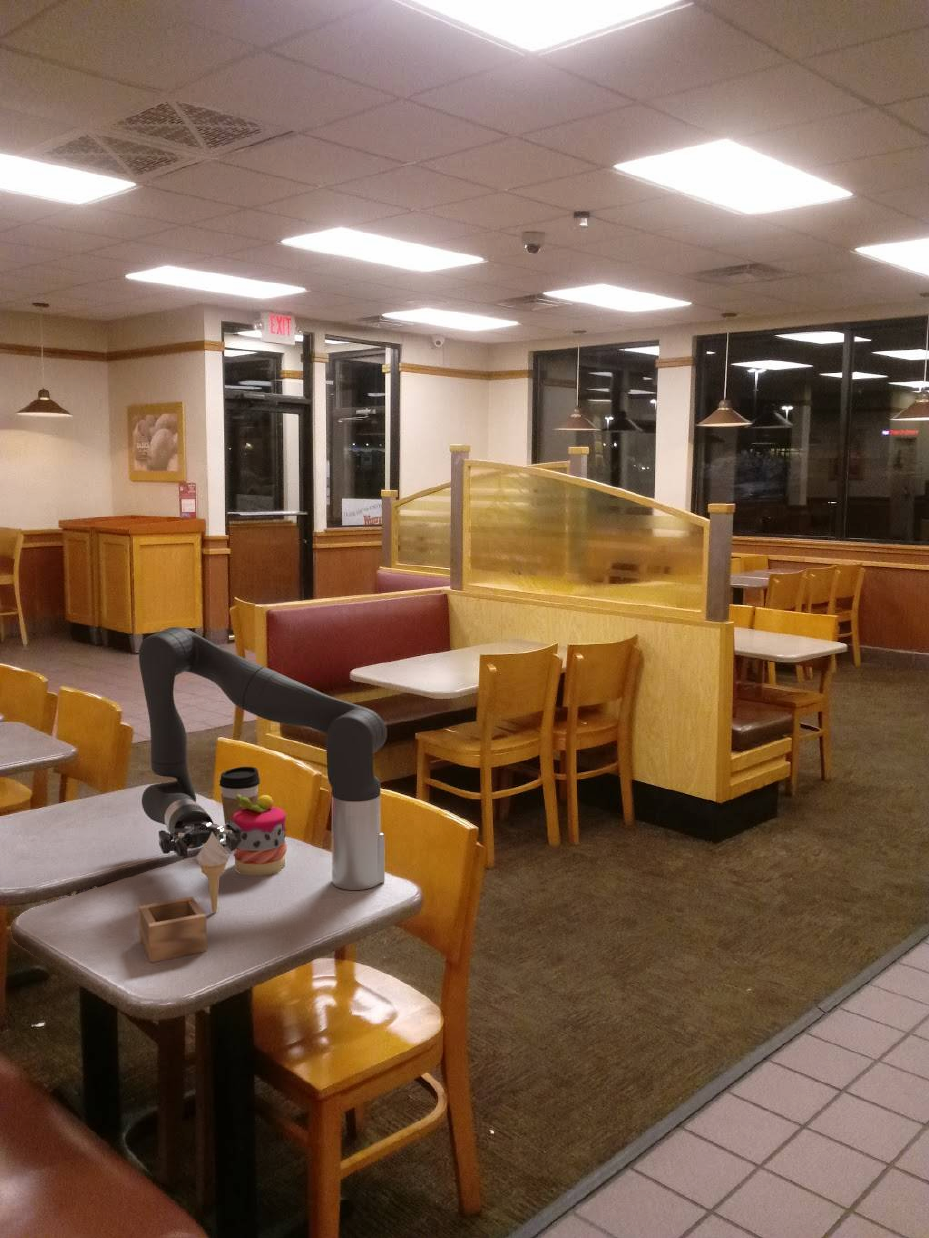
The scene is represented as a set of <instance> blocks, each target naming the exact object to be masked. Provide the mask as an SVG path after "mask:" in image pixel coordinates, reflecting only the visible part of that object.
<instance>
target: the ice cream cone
mask: <svg viewBox="0 0 929 1238" xmlns="http://www.w3.org/2000/svg"><path fill="white" fill-rule="evenodd" d="M202 846H203V847H202V848H201V850H199V852H198V854H197V855H196V860H197V864H198V865H199V867H200V869H201V873H202V874H204V875H205V877H206V878H207V883H208V889H209V890H208V891H209V897H210V904H211V910H212V913H213V914H216V913H217V910H218V898H219V888H220V887H219V886H220V876H221V875H222V874H223V873H224V872H225V870H226V865H227V863H228V862H229V857H230V855H229V854H227V853H228V851H227V850H226V848H224V846H223V844H220V842H219V841H218V840H217V838H216V837H215V835H214V833H213V832H212V833H211V835H210V837H209V839H208V841H207V842H206V843H205V845H202Z"/></svg>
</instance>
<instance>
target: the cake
mask: <svg viewBox="0 0 929 1238" xmlns="http://www.w3.org/2000/svg"><path fill="white" fill-rule="evenodd" d="M236 799H237V801H238V802H239V803H240V804H239V807H242V808H244V809H241V810H239V811H237V812H236V813H235V814H234V816H233V822H234V823H235V824H236V825H238V826H239V827H240V828H241V842H239V843H237V848H235V850H234V853H233V854H232V855H233V857H234V870H235V869H236V870H237V871H238V872H237V871H236V870H235V871H236V872H237V873H239V872H240V873H239V874H241V875H245V876H252V877H258V876H260V877H261V876H262V875H263V876H268V875H273V874H276V873H275V872H277V873H278V871H279V872H280V870H281V869H283V870H284V868H285V867H286V852H287V848H288V845H287V841H286V839H285V838H286V831H287V829H286V825H285V824H286V820H287V815H286V814H287V813H286V812H285V811H284V810H283V809H281V808H280V807H276V806H273V805H274V800H273V799H272V797H271V796H270V795H267V794H262V795H261V796H258V801H257V806H256V805H255V806H254V805H253V804H252V803H251V801H250V800H249V799H248V798H246V797H244V798H242V796H241V795H237V796H236ZM281 871H282V870H281Z"/></svg>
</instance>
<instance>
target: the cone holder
mask: <svg viewBox="0 0 929 1238" xmlns="http://www.w3.org/2000/svg"><path fill="white" fill-rule="evenodd" d="M138 929H139V930H138V931H139V942H140V945H141V946H142V948H143V950H144V952H145V954H146V955H147V958H148V959H149V961H150V963H154V962H155V963H156V962H161V961H165V960H169V959H170V960H171V959H175V958H179V956H181V957H185V956H189V955H196V954H200V953H204V952H207V951H208V949H207V948H208V947H207V946H208V945H207V943H208V942H207V916H206V914H205V913H204V911H203V909H202V908H201V907H200V906H199V903H198V902H197V901H196V900H195V898H194V897H193V896H189V897H184V898H177V899H172V900H165V901H162V902H155V903H150V904H144V905H143V904H142V905H138Z"/></svg>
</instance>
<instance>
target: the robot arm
mask: <svg viewBox="0 0 929 1238" xmlns="http://www.w3.org/2000/svg"><path fill="white" fill-rule="evenodd" d="M138 661H139V670H140V675H141V680H142V685H143V690H144V696H145V702H146V707H147V712H148V718H149V728H150V729H149V730H150V766H151V767H150V768H151V771H152V772H153V773H154V774H155V775H157V776H160V777H167V778H174V779H176V781H175V780H174V781H168V782H161V783H154V784H151V785H149V786H147V787H146V789H145V790H144V791H143V793H142V796H141V805H142V809H143V812H144V813H145V815H146V816H147V817H148V818H149V819H150V820H151V821H153V822H155V823H158V824H161V825H165V826H166V829H167V831H168V832H166V830H165V829H164V830H158V845H159V847H160V849H161V852H162V853H163V854H164V855H167V854H170V853H171V852H173V853H174V854H176V855H177V856H178V857H182V859H188V856H189V855H188V850H189V849H192V850H193V849H198V848H201V847H202V846H204V845H205V843H206V842H207V841H208V839H209V837H210V835H211V833H212V832H213V833H214V835H215V837H216V838H217V840H218V841H219V842H220V844H221V845H225V847H227V848H228V849H229V851H231V852H235V851H236V849H235V848H237V843H239V842H241V828H240V827H239V826H238V825H236V824H235V823H234V822H233V821H226V825H225V824H224V825H219V824H217V823H214V821H213V819H212V817H211V816H210V814H208V813H207V811H205V809H204V807H202V806H201V805H200V804H199V803H197V795H196V792H195V789H194V788H195V787H194V786H193V783H192V780H191V776H190V772H189V767H188V756H187V755H188V751H187V750H188V749H187V748H188V740H187V738H188V737H187V731H186V728H185V725H184V722H183V720H182V718H181V715H180V714H179V711H178V709H177V706H176V703H175V698H174V689H175V680H176V676H178V675H181V674H182V673H184V672H185V673H191V674H195V675H197V676H200V677H202V678H205V679H207V680H209V681H211V682H213V683H214V684H215V685H216V686H218V687H219V688H220V689H221V690H222V692H223V693H224V695H225V696H226V697H227V698H228V699H229V701H231V702H232V703H233V704H234V705H235V706H236V707H238V708H240V709H242V710H243V711H245V712H247V713H250V714H251V715H254V716H257V717H259V718H261V719H264V720H266V721H270V722H274V723H279V724H283V725H290V726H297V727H303V728H309V729H313V730H316V731H319V732H320V733H323V734H325V735H326V740H325V741H326V742H325V743H326V744H325V746H326V747H325V749H326V770H327V771H326V772H327V779H328V783H329V786H330V787H331V848H332V849H331V860H332V861H331V869H332V870H331V877H332V881H331V882H332V884H333V885H334V886H335V887H337V888H339V889H343V890H349V891H361V890H367V889H371V888H374V887H376V886H378V885H379V884H381V883H385V879H386V878H385V874H386V873H385V871H386V870H385V869H386V868H385V867H386V866H385V863H386V862H385V861H386V860H385V859H386V858H385V857H386V855H385V845H386V844H385V843H386V842H385V840H386V839H385V838H386V836H385V834H384V833H383V832H382V830H381V827H382V826H381V821H382V820H381V790H382V789H381V781H380V779H379V778H378V777H377V776H376V775H375V773H374V754H375V753H376V752H378V751H379V750H380V749H381V748H382V747H383V745H384V744H385V742H386V740H387V736H388V728H387V726H386V723H385V721H384V719H383V718H382V717H381V716H380V715H379V714H378V713H377V712H376V711H374V710H372V709H370V708H367V707H365V706H362V705H359V704H355V703H352V702H348V701H345V700H342V699H339V698H335V697H333V696H331V695H328V694H325V693H323V692H320V691H318V690H317V689H315V688H312V687H310V686H308V685H306V684H303V683H302V682H299V681H296V680H294V679H293V678H290V677H288V676H286V675H284V674H282V673H279V672H277V671H275V670H273V669H270V668H269V667H267V666H264V665H261V664H259V663H256V662H253V661H251V660H249V659H247V658H244V657H243V656H240V655H237V654H235V653H232V652H230V651H228V650H226V649H224V648H221V647H220V646H218V645H216V644H215V643H213V642H211V641H209V640H208V639H207V638H204V637H202V636H201V635H199V634H197V633H195V632H194V631H191V630H190V629H188V628H185V627H182V626H181V627H180V626H173V627H172V626H171V627H168V628H166V629H163V630H161V631H158V632H155V633H153V634H150V635H149V636H148V637H146V638H145V639H143V641H142V642H141V643H140V645H139V649H138ZM224 835H225V838H224Z"/></svg>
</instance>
